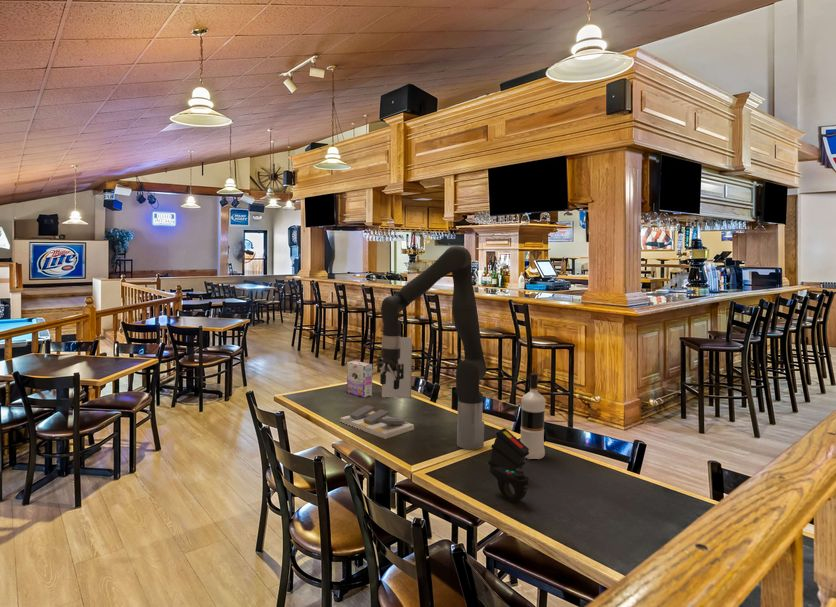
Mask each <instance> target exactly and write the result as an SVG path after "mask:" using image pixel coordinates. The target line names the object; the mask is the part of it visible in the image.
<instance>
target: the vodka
mask: <svg viewBox="0 0 836 607" xmlns="http://www.w3.org/2000/svg"><path fill="white" fill-rule="evenodd" d="M529 381H530V382H529V384H530V385H529V386H530V387H529V391H528V392H527V393H525V394H524V395H523V396H521V400H520V401H521V406H520V408H521V419H520V420H521V421H520V422H521V423H520V439H519V441H520V442H522V443H523V444H524V445H525V446H526V447H527V448H528V449H529V451H528V452H529V455H527V456H526V457H525V459H526V458H527V460H530V459H538V460H541V459H543V458H544V457H545V455H546V449H545V443H544V442H545V441H544V440H545V439H544V436H545V429H544V428H545V411H546V399H545V397H544V395H542V394H541V393H540V392H538V385H539V384H538V383H539V374H538V373H533V372H532V373H530V380H529Z"/></svg>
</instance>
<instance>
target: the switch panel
mask: <svg viewBox="0 0 836 607" xmlns="http://www.w3.org/2000/svg"><path fill="white" fill-rule="evenodd" d="M375 412H376V411H375V410H374V411H372V412H370V413H368V414H366V415H365V416H363V417H361V418H359V419H355V418H352V417H350V415H346V416H342V417H340V418H339V420H340V423H341V422H342V423H341V424H343V423H345V424H344V425H346V424H347V425H346V426H349V425H350V426H349V427H352V426H353V427H352V428H354V427H355V428H354V429H357V428H358V430H360V429H361V430H360V431H362V430H363V432H366V433H368V434H371V435H374V436H376V437H379V438H381V439H385V440H386V439H390V438H393V437H397V436H399V435H401V434H405V433H408V432H410V431H414V430H415V424H413V423H410V422H408V421H405V424H384V423H381V422H379V420H378V421H377V422H375V423H373V424H369V423H366V422H364V421H363V419H364V418H366V417H368V416H369V415H371V414H373V413H375ZM390 418H394V417H392V416H389V415H387V416H385V417H384V418H382V419H390Z"/></svg>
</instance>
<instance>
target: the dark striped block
mask: <svg viewBox="0 0 836 607" xmlns="http://www.w3.org/2000/svg"><path fill="white" fill-rule="evenodd" d="M495 435H496V437H495V438H494V442H493V443H492V444H491V447H490V448H491V452H490V460H488V461H487V462H488V465H489V472H490V471H491V472H492V470H493V468H495V467H497V466H501V467H504V468H506V469H508V470H511V471H514V472H516V473H517V471H516V469H517V468H521V469H523V465H524V466H525V464H526V462H525V459H526V458H525V457H526V456H527V455H529V452H528V451H529V449H528V448H527V447H526V446H525V445H524V444H523V443H522V442H520V439H518V438H517V437H515V435H514V434H513V433H511V432H510V431H509V429H507V428H505V427H504V428H500V429H499V431H496V432H495ZM521 473H522V474H523V475H524V471H523V472H521Z"/></svg>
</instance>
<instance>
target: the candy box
mask: <svg viewBox="0 0 836 607" xmlns="http://www.w3.org/2000/svg"><path fill="white" fill-rule="evenodd" d="M346 389H347V390H346V392H348V393H347V394H350V393H351V394H350V395H353V394H354V395H353V396H357V397H360V396H361V397H360V398H368V396H369V397H373V363H366V362H362V361H358V360H352V361H351V360H350V361H347V362H346Z"/></svg>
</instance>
